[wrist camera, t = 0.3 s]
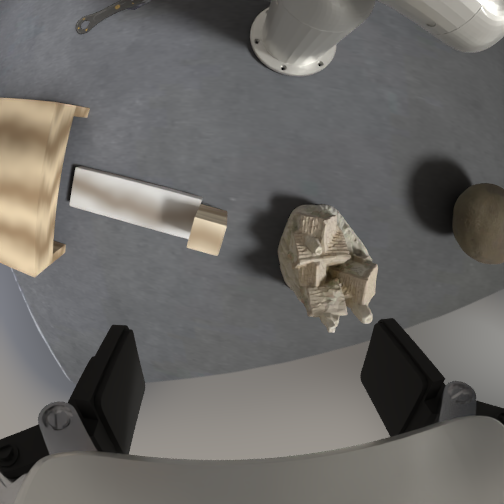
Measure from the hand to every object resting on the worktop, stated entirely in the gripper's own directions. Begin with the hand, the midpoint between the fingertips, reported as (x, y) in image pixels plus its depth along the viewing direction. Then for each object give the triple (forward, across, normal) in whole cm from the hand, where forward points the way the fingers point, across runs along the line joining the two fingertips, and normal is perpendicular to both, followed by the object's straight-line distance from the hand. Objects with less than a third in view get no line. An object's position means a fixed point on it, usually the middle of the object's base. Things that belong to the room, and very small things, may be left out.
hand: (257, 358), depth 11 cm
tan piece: (+34, +13, 0) cm, 37 cm away
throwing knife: (+34, +17, -34) cm, 51 cm away
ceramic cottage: (+35, -15, +8) cm, 39 cm away
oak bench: (+34, +31, -5) cm, 47 cm away
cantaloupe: (+34, -42, 0) cm, 54 cm away
